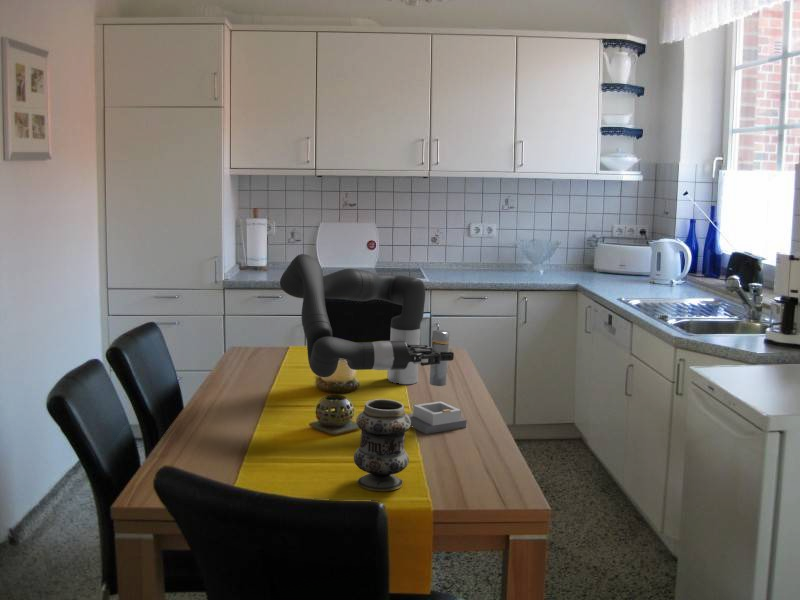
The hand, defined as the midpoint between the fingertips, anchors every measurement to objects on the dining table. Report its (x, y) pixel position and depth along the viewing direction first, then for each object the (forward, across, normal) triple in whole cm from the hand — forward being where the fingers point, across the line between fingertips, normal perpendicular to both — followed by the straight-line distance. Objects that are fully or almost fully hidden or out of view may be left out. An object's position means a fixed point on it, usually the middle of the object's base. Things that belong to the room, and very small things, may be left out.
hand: (449, 353), depth 232 cm
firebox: (-3, -1, -20) cm, 20 cm away
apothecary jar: (-29, +36, -20) cm, 50 cm away
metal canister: (-3, 0, -8) cm, 8 cm away
